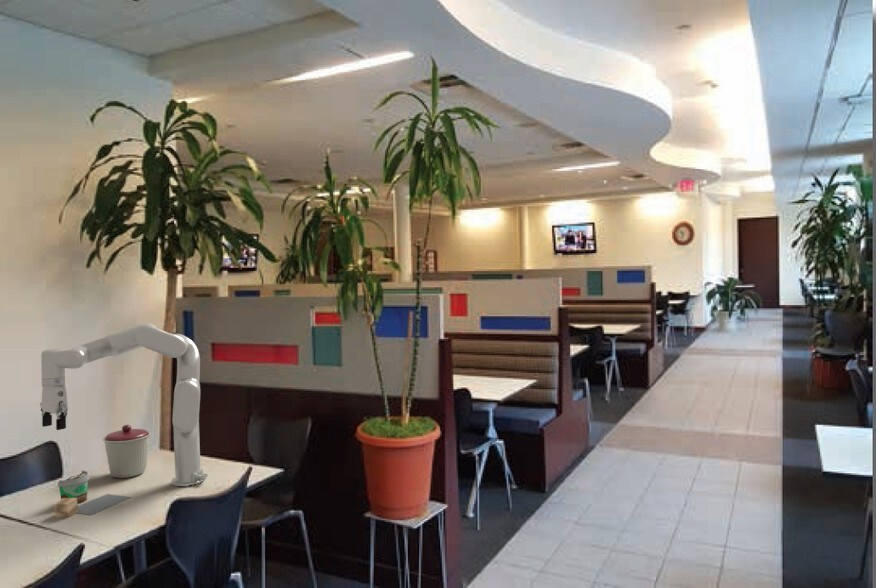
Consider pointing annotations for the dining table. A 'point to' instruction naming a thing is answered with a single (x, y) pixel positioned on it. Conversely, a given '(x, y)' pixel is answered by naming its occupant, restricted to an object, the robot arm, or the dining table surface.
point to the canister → (127, 451)
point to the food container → (75, 487)
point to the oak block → (66, 507)
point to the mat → (100, 504)
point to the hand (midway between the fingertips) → (54, 427)
